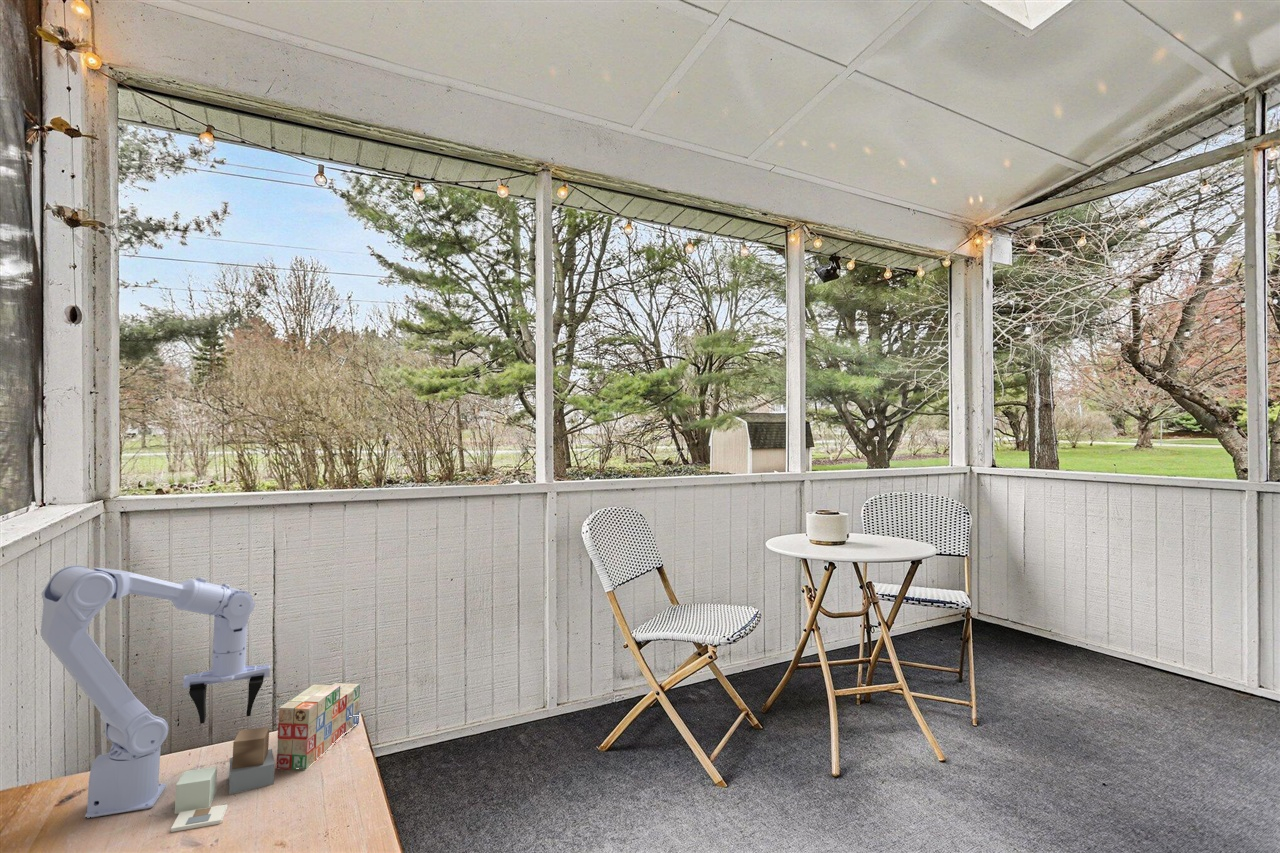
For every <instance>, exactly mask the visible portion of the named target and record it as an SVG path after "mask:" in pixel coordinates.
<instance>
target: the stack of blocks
mask: <svg viewBox="0 0 1280 853" xmlns="http://www.w3.org/2000/svg"><path fill="white" fill-rule="evenodd" d="M360 689H361V684H360V683H350V682H349V683H345V682H344V683H341V682H340V683H339V682H335V683H333V684H312V685H311V686H309V687H308V688H307V689H305V690H304V691H301V693H299V694H298V695H297V696H295V697H294V698H292V699H290V700H288V701H287V702H285V703H284V704H283V705H281V706H280V707H278V708H279V709H278V710H279V711H278V724H277V725H278V726H277V751H276V752H277V754H276V766H275V767H276V769H277V770H282V769H283V770H297V769H296V768H299V769H307V768H308V767H309V766H310V765H311V764H312V763H313V762H314V761H316V760H317V758H318V757H319V756H320V755H321V754H323V753H324V752H325V751H326V750H327V749H328V748H329V747H330V746H331V745H332V743H334V742H335V741H336V740H337V739H338V738H339V737H340V736H341V735H342V734H343V733H345V732H347V731H348V730H349V729H350V728H352V727H353V726H354V725H355V724H357V723H359V724H360V709H361V708H360V707H361V706H360V705H361V697H360V694H361V692H360ZM353 715H359V716H353ZM349 716H352V717H349ZM357 717H358V718H357ZM317 761H318V760H317ZM317 761H316V762H317ZM312 765H313V764H312ZM312 765H311V766H312ZM311 766H310V767H311ZM310 767H309V768H310ZM278 768H280V769H278ZM309 768H308V769H309ZM308 769H307V770H308Z"/></svg>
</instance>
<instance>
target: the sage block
mask: <svg viewBox="0 0 1280 853" xmlns="http://www.w3.org/2000/svg"><path fill="white" fill-rule="evenodd" d="M217 777H218V766H217V765H216V766H211V767H205V768H204V767H203V768H197V769H190V770H184V772H183V773H182V775H181V776H180V778H179V779H178V780H177V783H176V784H175V795H174V796H175V797H174V798H175V799H174V815H177V814H179V813H180V812H184V811H190V810H196V809H202V808H208V807H211V805H212V802H213V800H214V799H215V796H216V794H217V780H218V779H217Z"/></svg>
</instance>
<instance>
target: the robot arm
mask: <svg viewBox="0 0 1280 853" xmlns="http://www.w3.org/2000/svg"><path fill="white" fill-rule="evenodd" d="M207 580H208V578H204V577H199V576H198V577H196V579H193V578H188V579H186V580H184V581H182V582H179V583H177V582H172V581H169V580H164V579H159V578H156V577H152V576H148V575H143V574H140V573H135V572H130V571H126V570H121V569H113V568H104V567H92V569H91V568H88V567H86V566H83V565H80V564H79V565H77V564H76V565H68V566H65V567H63V568H61V569H59V570H58V571H56V572H55V573H54V574H53V575H52V576H51V578H50V579H49V580H48V582H47V584H46V585H45V587H44V589H43V591H42V592H41V597H42V598H41V599H42V602H43V606H42V607H43V608H42V616H41V625H40V626H41V627H40V636H41V638H42V640H43V641H44V643H45V644H46V645H47V647H48V648H49V649H50V650H51V652H52V653H53V654H54V656H55V657H56V658H57V659H58V660H59V662H60V663H61V664H62V666H63V667H64V668H65V670H66V671H67V672H68V674H69V675H70V677H72V679H74V681H75V682H76V684H77V685H78V686H79V687H80V689H81V690H82V691H83V693H84V694H85V695H86V696H87V698H88V699H89V700H90V702H91V703H92V704H93V706H94V707H95V708H96V709H97V711H98V712H99V713H100V716H99V717H100V719H101V720H102V722H103V723H104V735H105V738H106V739H107V740H108V741H109V742H111V747H110V750H109V752H107V753H102V754H98V755H97V756H96V758H94V760H93V763H92V765H91V768H90V771H89V778H88V788H87V789H88V790H87V805H86V813H85V815H84V818H85V817H87V818H86V819H89V818H90V817H91V818H96V817H102V816H107V815H108V816H109V815H115V814H122V813H127V812H133V811H140V810H146V809H151V808H153V807H154V806H155V804H156V803H157V802H158V799H159V798H160V796H161V795H162V793H163V792H164V790H165V788H166V786H167V783H165V782H164V783H162V782H161V783H159V782H160V769H161V768H160V767H161V752H162V751H161V749H162V748H161V746H162V744H163V743H164V742H165V741H166V739H167V736H168V734H169V725H168V724H169V723H168V722H167V720H165V719H164V718H163V717H161V716H157V715H155V714H152V712H151V711H150V709H149V708H147V706H145V704H144V703H142V702H141V701H140V700H139V699H138V698H137V697H136V696H135V695H134V693H133V692H132V691H131V689H130V688H129V686H128V684H126V682H125V681H124V680H123V679H122V677H121V676H120V675H119V673H118V671H117V670H116V669H115V667H114V666H113V665H112V663H111V662H110V661H109V660H108V658H107V657H106V656H105V654H104V652H102V650H101V649H100V647H99V646H98V645H97V644H96V642H95V640H94V639H93V638H92V637H91V635H90V634H89V632H88V631H87V630H88V627H89V626H90V624H91V623H92V620H93V618H94V617H96V615H98V613H99V612H100V611H101V610H102V609H103V608H104V607H105V606H106V605H107V604H108V602H109V601H110V600H111V599H113V600H115V601H117V600H120V599H121V598H123V597H126V596H127V595H131V594H132V595H136V596H143V597H149V598H157V599H162V600H169V601H171V602H172V605H173V606H174V608H175V609H176V610H180V611H187V612H191V613H198V614H203V615H206V616H207V615H209V616H214V619H213V621H214V622H213V634H212V635H213V636H212V651H211V652H212V653H211V654H212V656H211V658H212V659H211V670H208V671H207V670H206V671H202V672H197V673H193V674H185V675H184V677H183V679H182V681H183V683H182V689H188V688H189V690H188V693H189V697H191V698H190V699H192V701H193V703H194V705H195V707H196V710H197V713H198V716H199V717H198V718H199V724H205V722H206V719H207V718H206V716H207V706H206V705H207V702H206V700H207V690H208V689H207V687H208V685H211V684H218V683H219V684H220V683H225V682H227V683H228V682H234V681H242V680H248V679H249V680H248V698H247V700H248V701H247V707H246V714H245V715H246V716H245V717H250V716H251V715H252V710H253V705H254V703H255V699H256V697H257V695H258V693H259V691H260V689H261V688H262V686H263V684H264V679H265V678H270V677H271V664H265V665H247V664H246V662H247V659H246V658H247V643H248V642H247V640H248V624H249V617H250V615H251V614H252V613H253V611H254V609H255V607H256V602H254V599H253V596H252V595H251V594H250V592H248V591H247V590H246V591H245V590H243V589H242V590H241V589H238V588H233V587H231V585H230V584H227V583H222V584H220V585H219V584H216V583H211V582H207Z"/></svg>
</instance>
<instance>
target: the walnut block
mask: <svg viewBox="0 0 1280 853" xmlns="http://www.w3.org/2000/svg"><path fill="white" fill-rule="evenodd" d="M269 739H270V726H267V727H266V726H265V727H258V728H256V727H255V728H250V729H249V728H247V729H239V731H238V733H237V734H236V737H235V738H234V740H233V744H232V757H233V760H232V769H237V768H245V767H252V766H259V765H263V764H264V761H265V759H266V756H267V754H268V750H269V745H270V744H269V742H270V740H269Z"/></svg>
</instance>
